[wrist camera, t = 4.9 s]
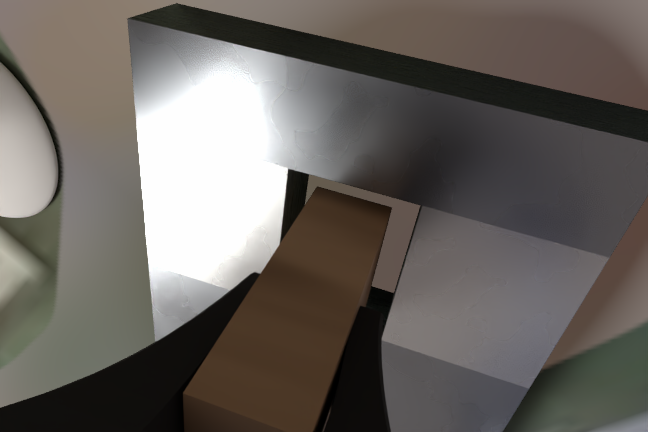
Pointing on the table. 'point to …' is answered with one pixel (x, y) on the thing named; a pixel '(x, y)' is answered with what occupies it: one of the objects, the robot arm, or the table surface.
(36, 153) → the wineglass
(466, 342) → the square steel tile
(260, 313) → the brown wooden block
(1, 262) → the table surface
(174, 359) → the robot arm
